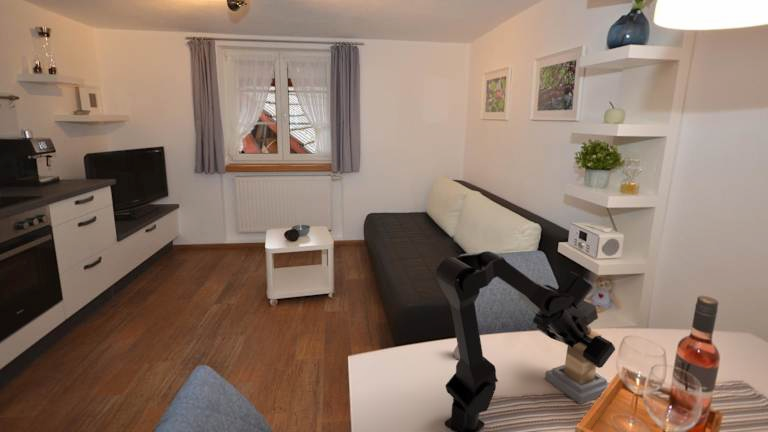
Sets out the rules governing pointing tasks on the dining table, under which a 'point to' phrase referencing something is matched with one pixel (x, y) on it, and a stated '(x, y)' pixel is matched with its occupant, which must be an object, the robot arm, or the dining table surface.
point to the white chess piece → (456, 353)
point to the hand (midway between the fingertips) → (586, 352)
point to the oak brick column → (580, 362)
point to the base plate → (577, 385)
